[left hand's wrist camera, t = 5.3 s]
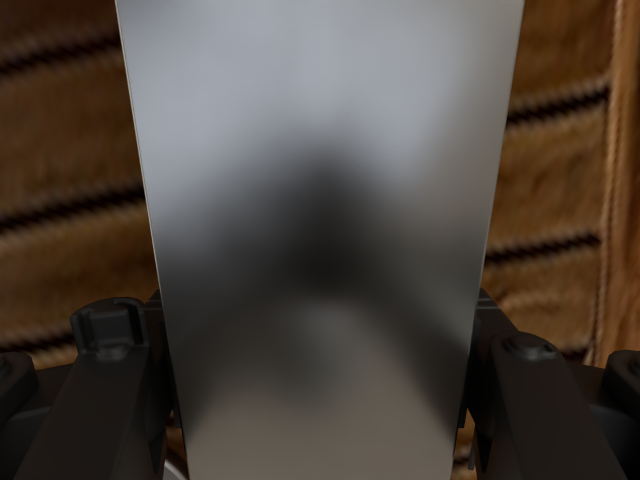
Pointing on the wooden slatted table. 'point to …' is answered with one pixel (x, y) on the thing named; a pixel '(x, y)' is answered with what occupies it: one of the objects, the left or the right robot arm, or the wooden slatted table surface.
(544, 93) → the wooden slatted table surface
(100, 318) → the left robot arm
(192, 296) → the bar
